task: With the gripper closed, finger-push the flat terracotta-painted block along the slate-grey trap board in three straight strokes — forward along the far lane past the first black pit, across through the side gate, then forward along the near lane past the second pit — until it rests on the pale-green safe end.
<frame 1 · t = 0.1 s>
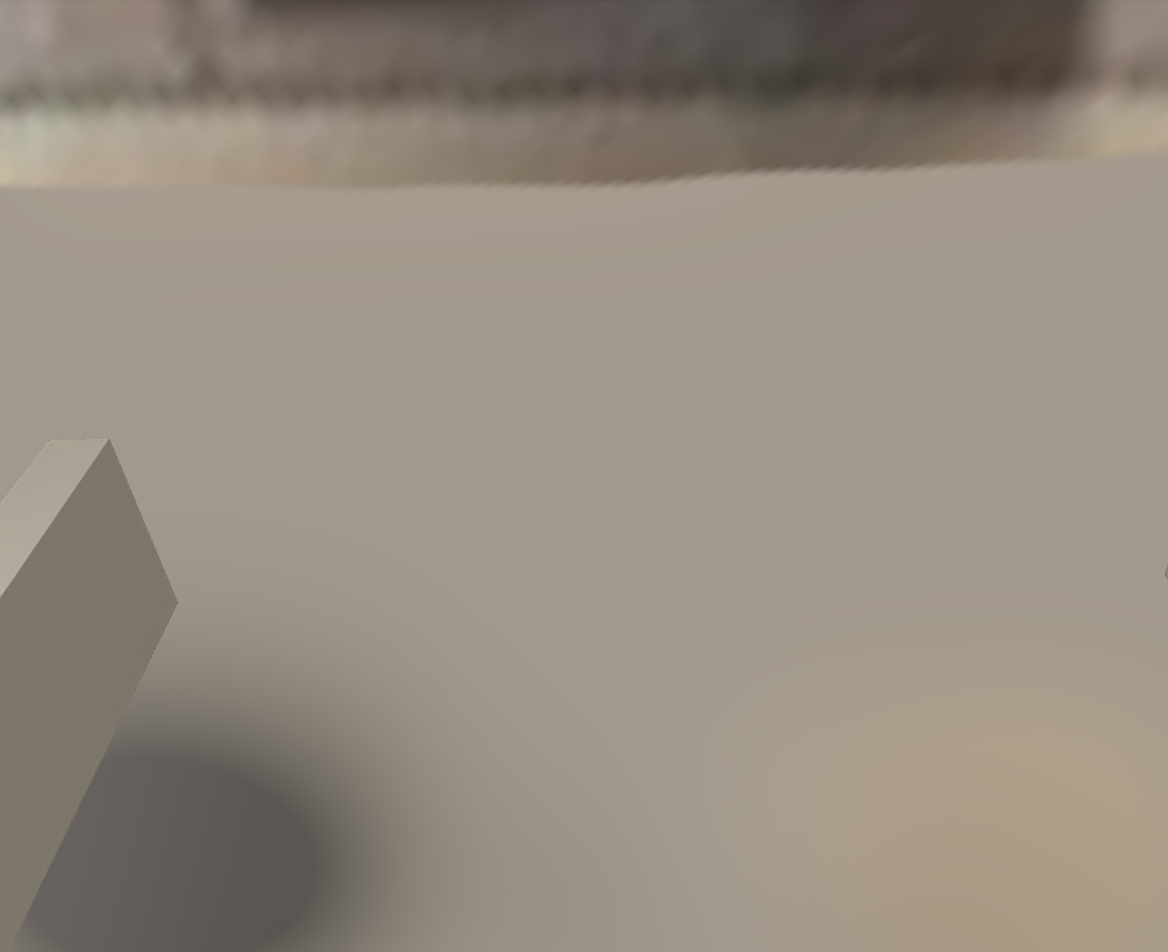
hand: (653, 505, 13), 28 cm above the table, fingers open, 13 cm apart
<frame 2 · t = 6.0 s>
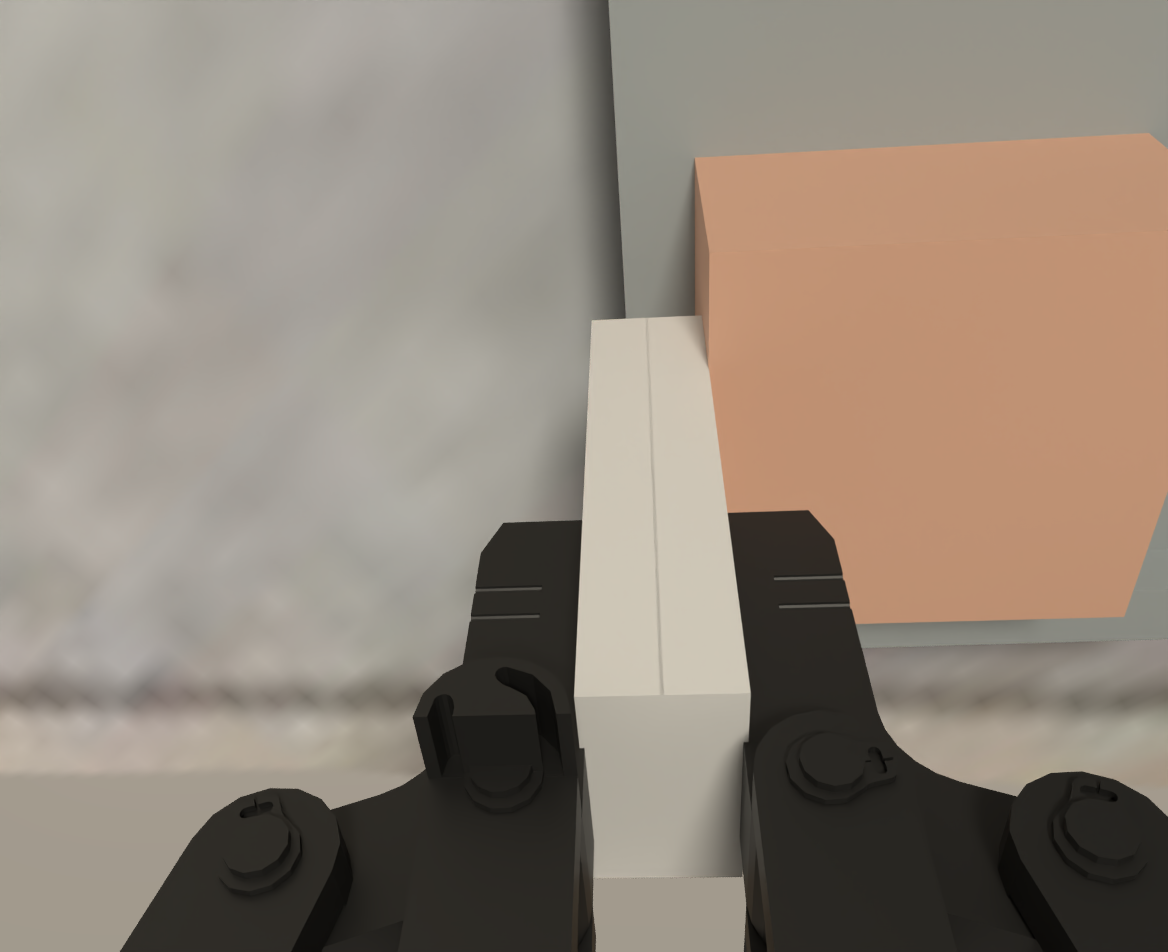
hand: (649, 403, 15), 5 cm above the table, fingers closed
block: (893, 340, 16), point 3 cm above the table, touching trap box
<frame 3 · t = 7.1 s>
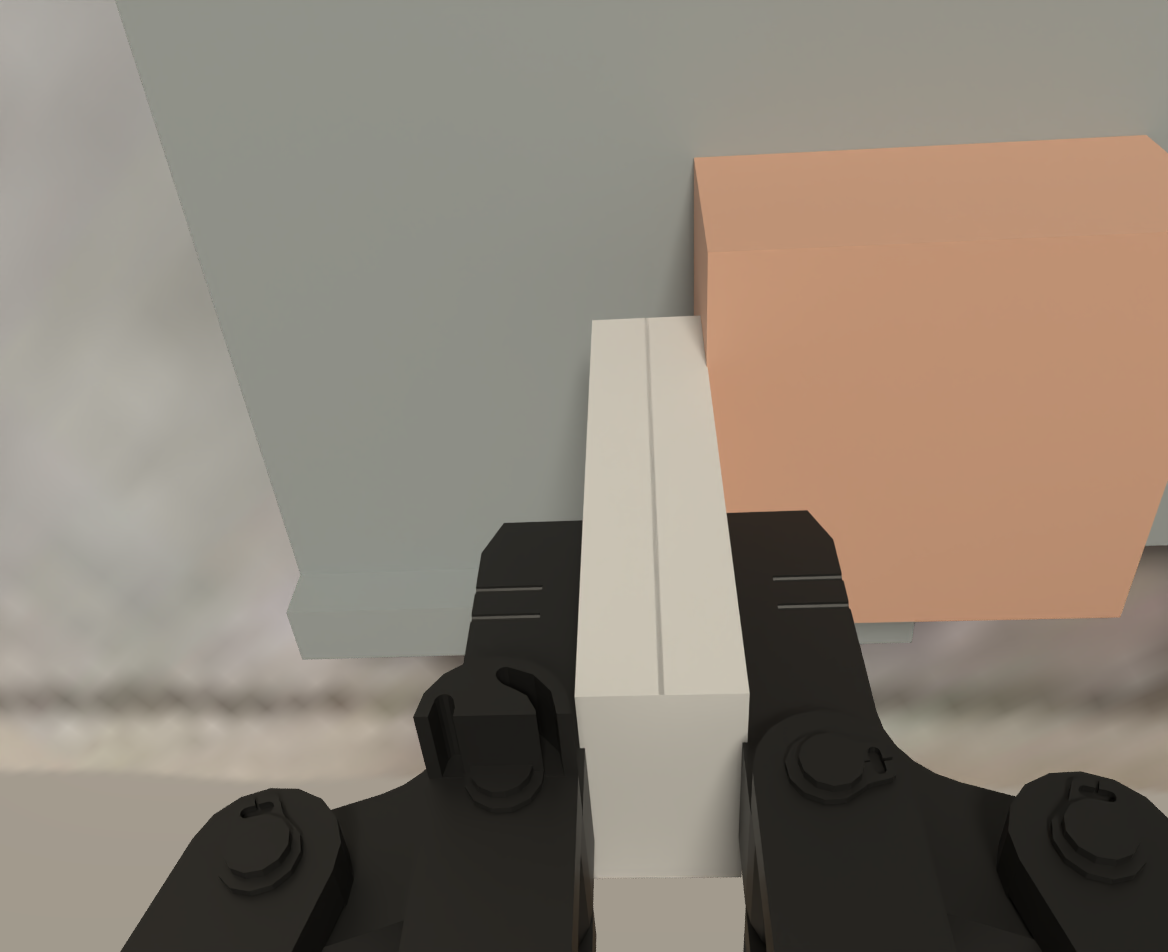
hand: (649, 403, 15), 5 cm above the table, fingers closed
block: (891, 340, 16), point 3 cm above the table, touching gripper
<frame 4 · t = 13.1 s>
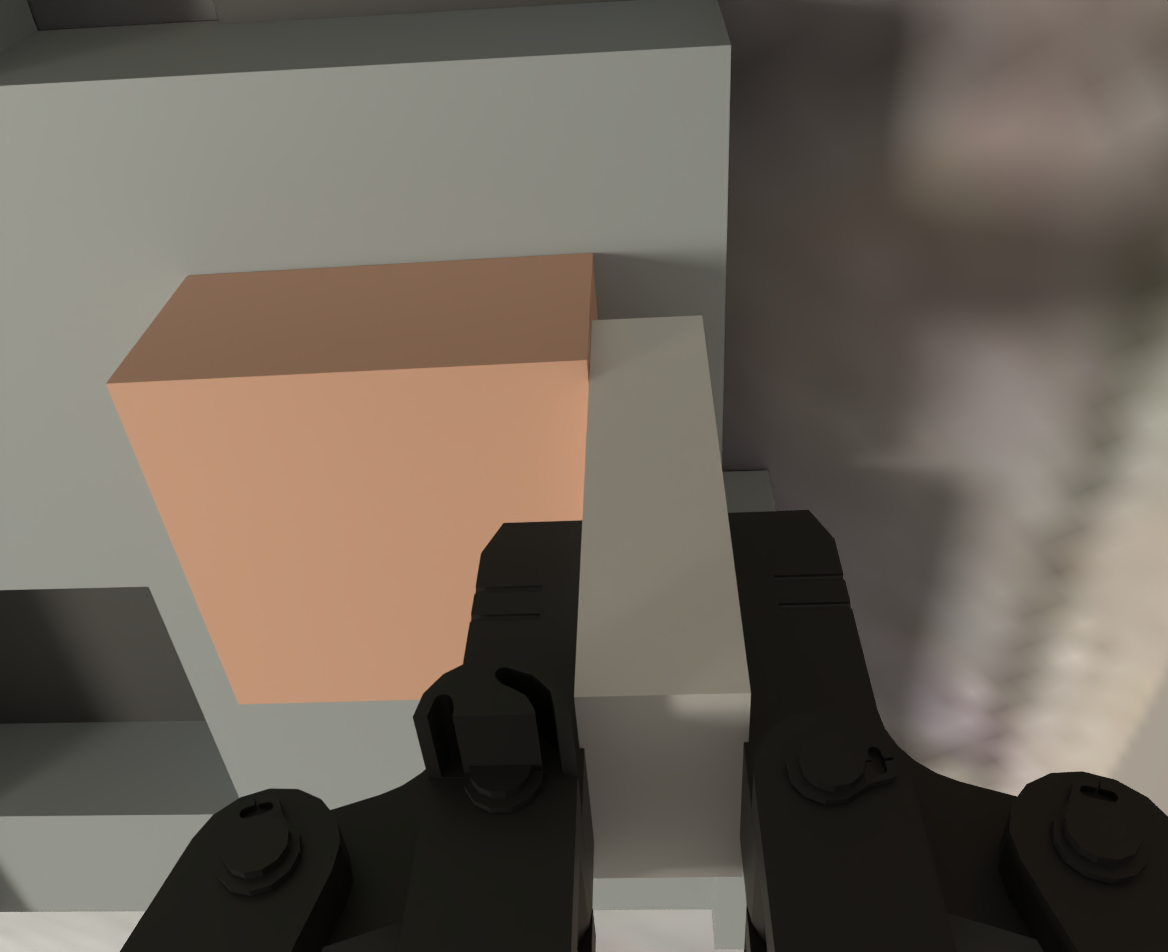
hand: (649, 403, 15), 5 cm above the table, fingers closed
block: (421, 433, 17), point 3 cm above the table, touching gripper
trap box: (187, 209, 18), on the table
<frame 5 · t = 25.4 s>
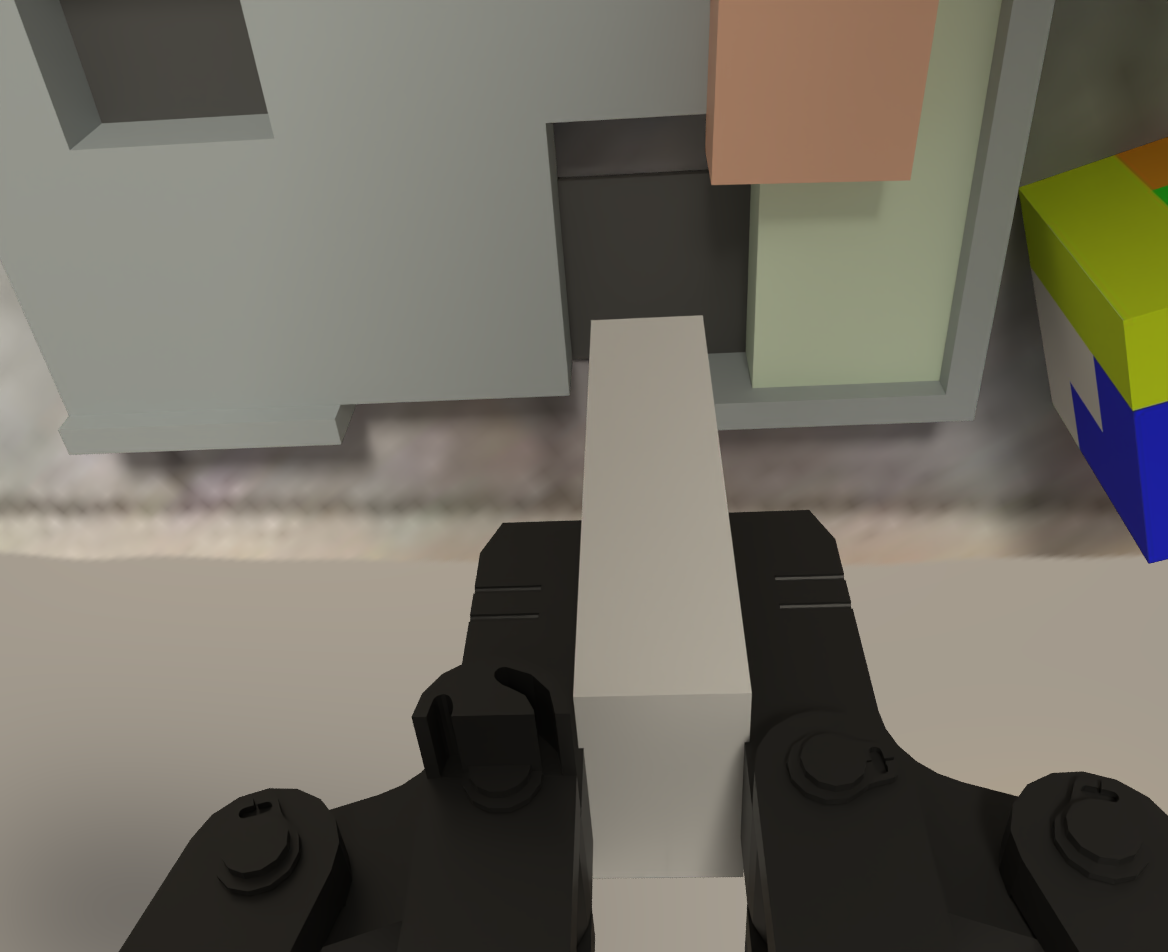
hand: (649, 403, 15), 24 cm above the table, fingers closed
block: (805, 52, 32), point 3 cm above the table, touching trap box
trap box: (470, 141, 37), on the table
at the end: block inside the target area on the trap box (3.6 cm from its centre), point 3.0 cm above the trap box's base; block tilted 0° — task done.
